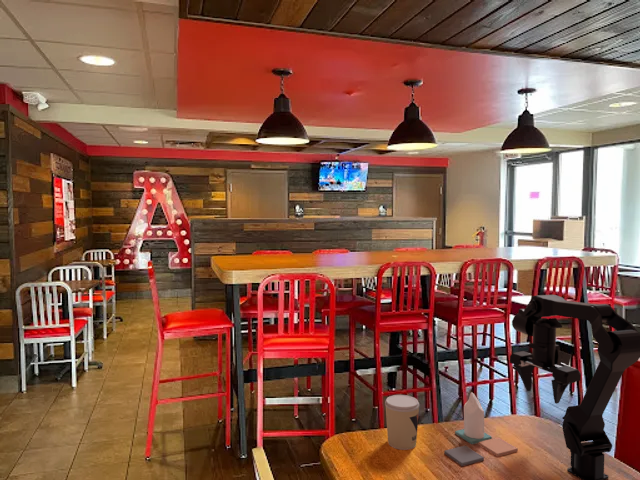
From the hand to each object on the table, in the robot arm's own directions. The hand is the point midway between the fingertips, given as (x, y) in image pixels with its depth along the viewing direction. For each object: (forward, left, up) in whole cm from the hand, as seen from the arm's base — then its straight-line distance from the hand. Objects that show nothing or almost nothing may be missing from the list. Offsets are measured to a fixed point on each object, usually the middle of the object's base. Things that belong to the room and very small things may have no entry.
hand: (542, 396), depth 131 cm
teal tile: (+11, +14, -13) cm, 22 cm away
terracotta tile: (+3, +13, -13) cm, 19 cm away
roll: (+11, +14, -13) cm, 22 cm away
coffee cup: (+16, +35, -13) cm, 40 cm away
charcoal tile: (+3, +24, -13) cm, 28 cm away
